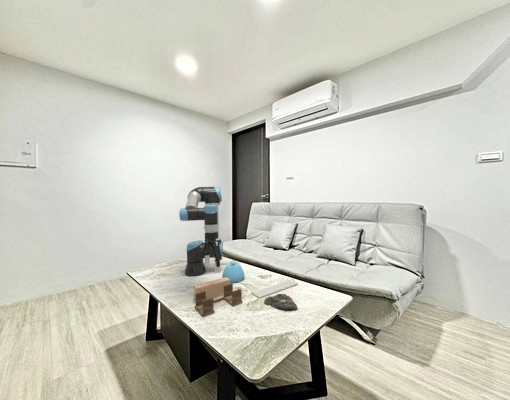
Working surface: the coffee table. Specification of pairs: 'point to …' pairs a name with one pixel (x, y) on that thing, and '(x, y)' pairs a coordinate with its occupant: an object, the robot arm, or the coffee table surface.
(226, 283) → the peach rectangular block
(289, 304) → the dark grey rock
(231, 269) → the sugar bowl
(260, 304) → the coffee table surface
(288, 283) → the baseboard
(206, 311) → the rack
